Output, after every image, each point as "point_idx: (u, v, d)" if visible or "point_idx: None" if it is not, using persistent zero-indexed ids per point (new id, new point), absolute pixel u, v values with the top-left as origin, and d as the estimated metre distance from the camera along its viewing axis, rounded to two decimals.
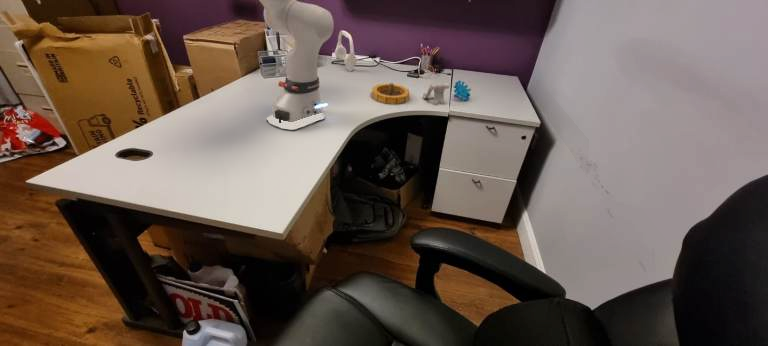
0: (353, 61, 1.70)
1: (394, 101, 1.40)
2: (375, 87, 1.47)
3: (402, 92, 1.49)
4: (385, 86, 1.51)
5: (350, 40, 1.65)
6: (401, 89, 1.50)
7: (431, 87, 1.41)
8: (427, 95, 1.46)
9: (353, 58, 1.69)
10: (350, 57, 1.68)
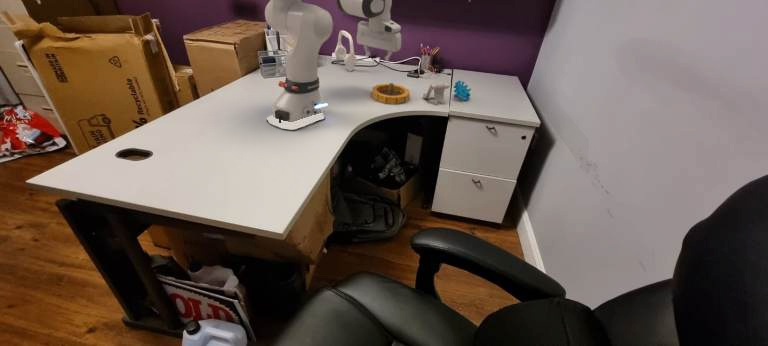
0: (353, 61, 1.70)
1: (394, 101, 1.40)
2: (375, 87, 1.47)
3: (402, 92, 1.49)
4: (385, 86, 1.51)
5: (350, 40, 1.65)
6: (401, 89, 1.50)
7: (431, 87, 1.41)
8: (427, 95, 1.46)
9: (353, 58, 1.69)
10: (350, 57, 1.68)
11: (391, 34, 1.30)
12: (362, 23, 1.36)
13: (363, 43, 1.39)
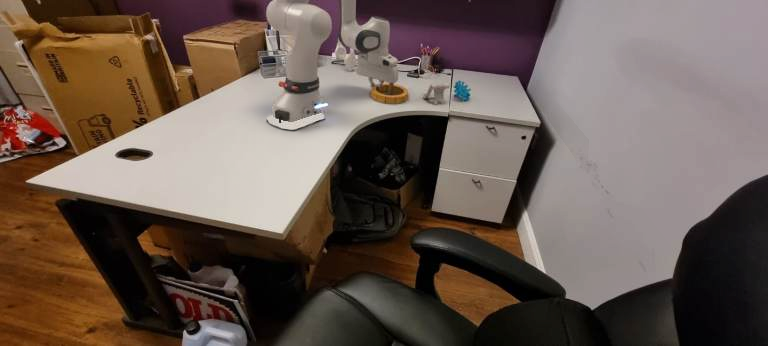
0: (353, 61, 1.70)
1: (393, 101, 1.40)
2: (374, 87, 1.47)
3: (401, 92, 1.50)
4: (384, 86, 1.51)
5: None
6: (400, 89, 1.50)
7: (431, 87, 1.41)
8: (427, 95, 1.46)
9: (353, 58, 1.69)
10: (350, 57, 1.68)
11: (389, 67, 1.38)
12: (361, 56, 1.44)
13: (362, 74, 1.47)
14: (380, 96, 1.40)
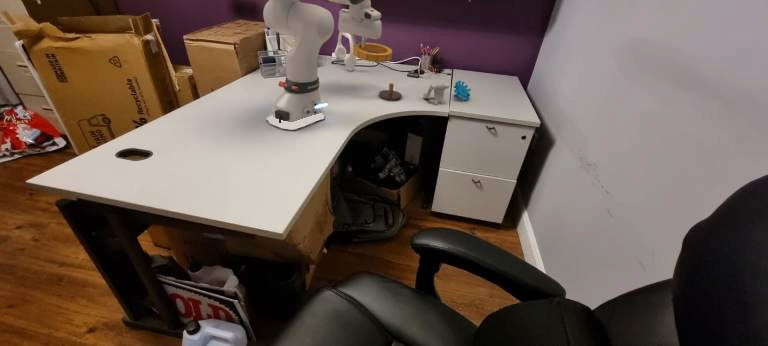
0: (353, 61, 1.70)
1: (375, 59, 1.34)
2: (357, 44, 1.41)
3: (385, 52, 1.43)
4: (368, 45, 1.45)
5: (350, 40, 1.65)
6: (384, 49, 1.43)
7: (431, 87, 1.41)
8: (427, 95, 1.46)
9: (353, 58, 1.69)
10: (350, 57, 1.68)
11: (371, 21, 1.31)
12: (343, 11, 1.38)
13: (344, 31, 1.40)
14: (362, 53, 1.34)
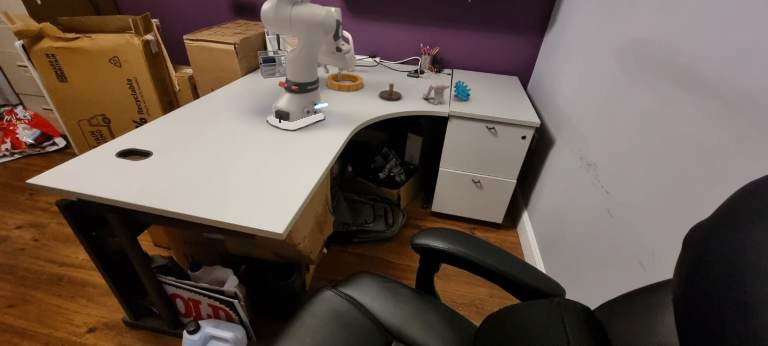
0: (353, 61, 1.70)
1: (346, 88, 1.48)
2: (330, 76, 1.55)
3: (357, 80, 1.57)
4: (341, 75, 1.59)
5: (350, 40, 1.65)
6: (356, 78, 1.58)
7: (431, 87, 1.41)
8: (427, 95, 1.46)
9: (353, 58, 1.69)
10: None
11: (342, 54, 1.45)
12: None
13: (319, 61, 1.54)
14: (334, 84, 1.48)
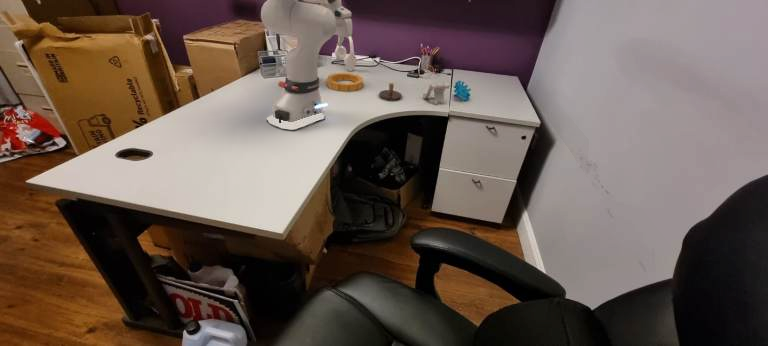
0: (353, 61, 1.70)
1: (346, 88, 1.48)
2: (330, 76, 1.55)
3: (357, 80, 1.57)
4: (341, 75, 1.59)
5: (350, 40, 1.65)
6: (356, 78, 1.58)
7: (431, 87, 1.41)
8: (427, 95, 1.46)
9: (353, 58, 1.69)
10: (350, 57, 1.68)
11: (341, 19, 1.35)
12: None
13: None
14: (334, 84, 1.48)
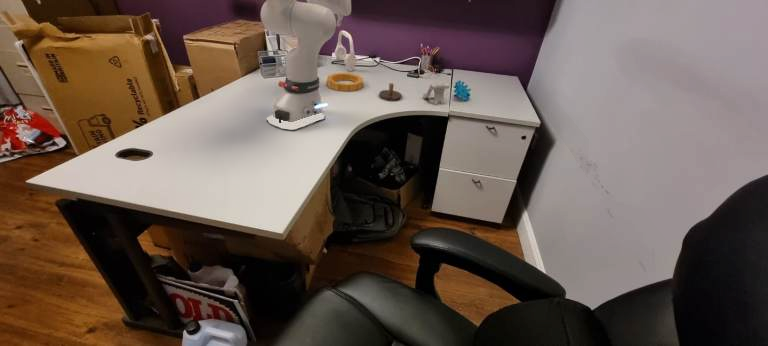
0: (353, 61, 1.70)
1: (346, 88, 1.48)
2: (330, 76, 1.55)
3: (357, 80, 1.57)
4: (341, 75, 1.59)
5: (350, 40, 1.65)
6: (356, 78, 1.58)
7: (431, 87, 1.41)
8: (427, 95, 1.46)
9: (353, 58, 1.69)
10: (350, 57, 1.68)
11: None
12: None
13: None
14: (334, 84, 1.48)
